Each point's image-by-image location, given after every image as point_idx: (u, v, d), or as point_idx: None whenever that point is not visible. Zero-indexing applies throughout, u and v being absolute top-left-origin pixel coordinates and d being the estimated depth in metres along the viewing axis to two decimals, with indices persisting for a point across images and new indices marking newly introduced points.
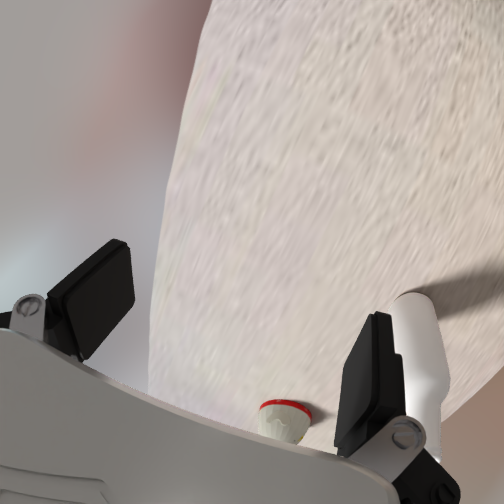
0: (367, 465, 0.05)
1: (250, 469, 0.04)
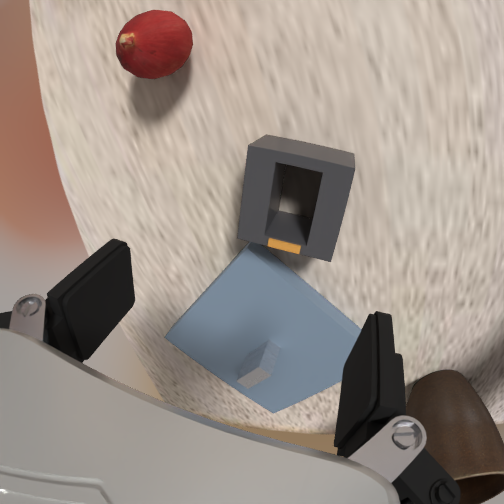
0: (367, 465, 0.05)
1: (250, 469, 0.04)
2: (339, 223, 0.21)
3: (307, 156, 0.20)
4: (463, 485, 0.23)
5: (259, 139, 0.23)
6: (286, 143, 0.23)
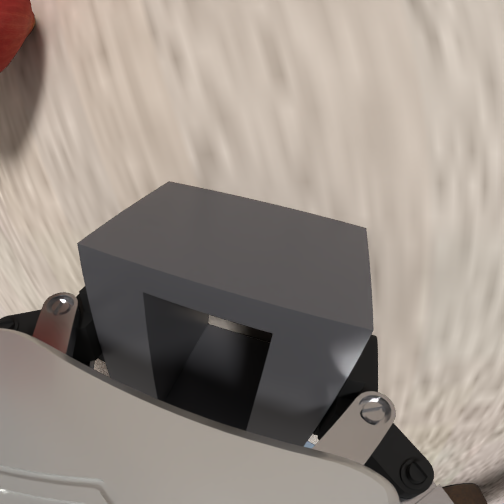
0: (340, 444, 0.06)
1: (250, 469, 0.04)
2: (314, 423, 0.08)
3: (226, 285, 0.07)
4: None
5: (134, 205, 0.09)
6: (195, 214, 0.09)
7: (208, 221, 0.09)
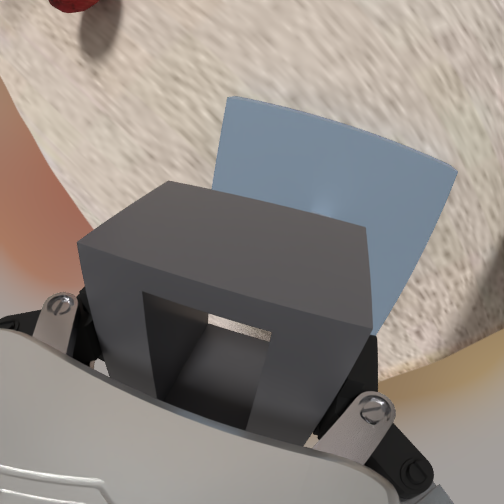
0: (340, 444, 0.06)
1: (250, 469, 0.04)
2: (313, 422, 0.08)
3: (225, 283, 0.07)
4: None
5: (133, 204, 0.09)
6: (195, 213, 0.09)
7: (207, 220, 0.09)
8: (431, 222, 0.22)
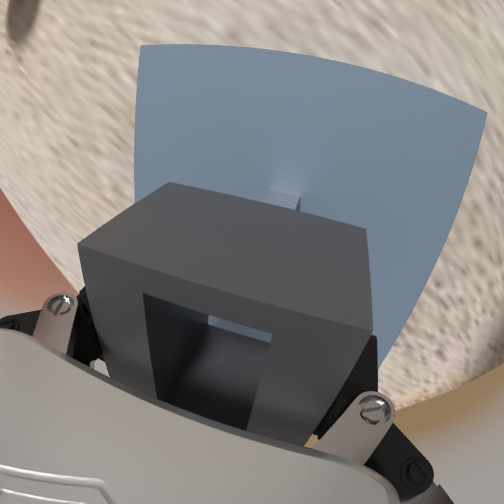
0: (340, 444, 0.06)
1: (250, 469, 0.04)
2: (313, 423, 0.08)
3: (226, 286, 0.07)
4: None
5: (134, 206, 0.09)
6: (195, 215, 0.09)
7: (208, 221, 0.09)
8: (455, 194, 0.13)
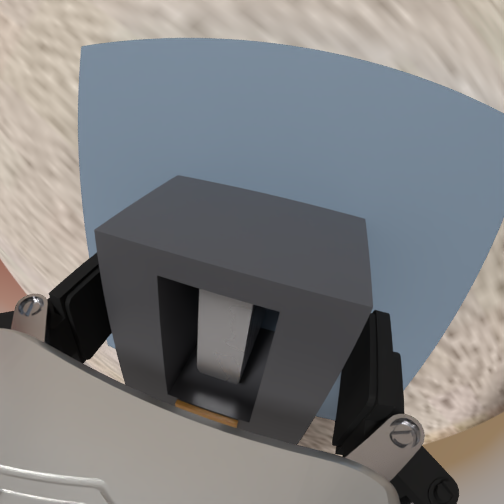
0: (365, 463, 0.06)
1: (250, 469, 0.04)
2: (317, 403, 0.09)
3: (237, 266, 0.07)
4: None
5: (146, 196, 0.10)
6: (205, 205, 0.10)
7: (217, 210, 0.10)
8: (486, 236, 0.10)
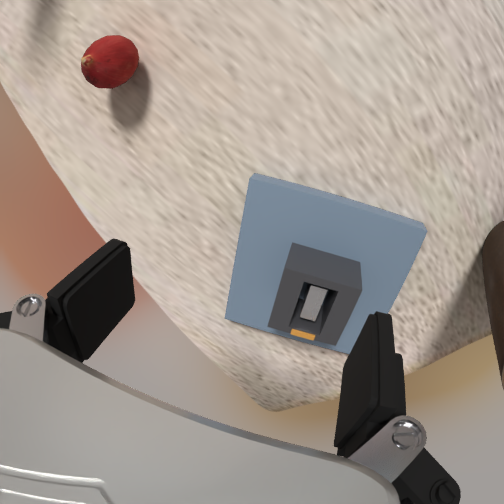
0: (367, 465, 0.05)
1: (250, 469, 0.04)
2: (345, 323, 0.29)
3: (328, 279, 0.27)
4: None
5: (289, 253, 0.30)
6: (310, 258, 0.30)
7: (315, 260, 0.30)
8: (406, 268, 0.30)
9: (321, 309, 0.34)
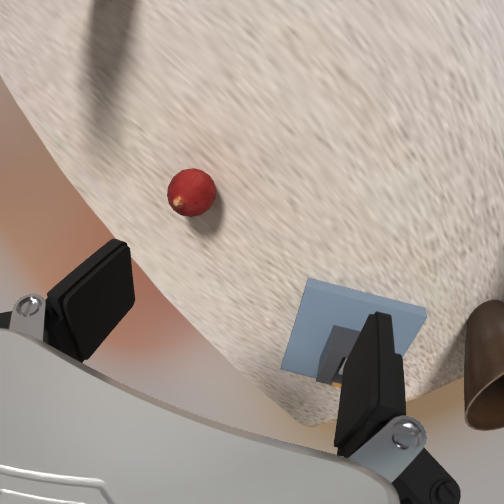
0: (367, 465, 0.05)
1: (250, 469, 0.04)
2: None
3: None
4: None
5: (332, 336, 0.42)
6: (346, 338, 0.42)
7: (349, 339, 0.42)
8: (411, 339, 0.42)
9: None
